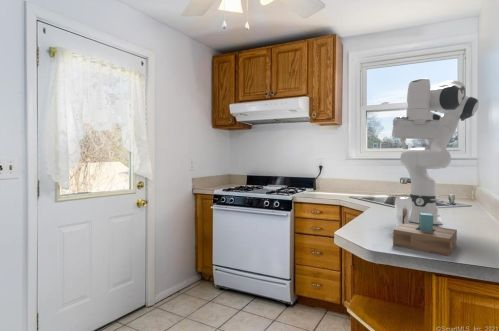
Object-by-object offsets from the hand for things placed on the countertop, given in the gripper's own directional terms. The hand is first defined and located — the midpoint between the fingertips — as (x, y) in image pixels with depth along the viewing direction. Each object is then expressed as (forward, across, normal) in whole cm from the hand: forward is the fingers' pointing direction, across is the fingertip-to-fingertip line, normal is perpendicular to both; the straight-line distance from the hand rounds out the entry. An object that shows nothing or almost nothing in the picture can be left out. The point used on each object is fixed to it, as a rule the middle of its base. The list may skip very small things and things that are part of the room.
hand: (416, 149), depth 130 cm
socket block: (+37, -3, -14) cm, 40 cm away
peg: (+37, -3, -14) cm, 40 cm away
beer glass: (+37, 0, +9) cm, 38 cm away
